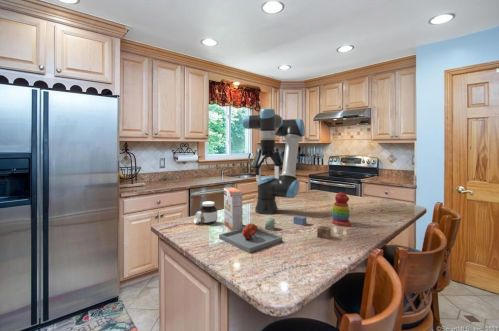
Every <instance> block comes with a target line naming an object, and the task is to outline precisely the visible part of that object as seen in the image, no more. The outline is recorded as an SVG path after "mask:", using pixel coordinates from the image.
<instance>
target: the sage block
mask: <svg viewBox="0 0 499 331" xmlns="http://www.w3.org/2000/svg"><path fill="white" fill-rule="evenodd" d="M275 221H276V220H275V218H272V217H267V218H265V219H264V229H265V230H268V231H273V230H275V225H276V223H275Z"/></svg>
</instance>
